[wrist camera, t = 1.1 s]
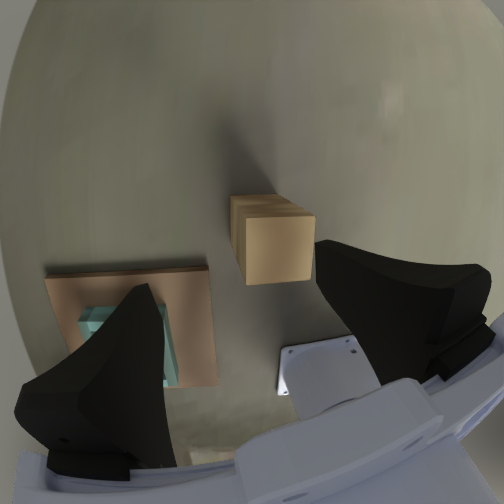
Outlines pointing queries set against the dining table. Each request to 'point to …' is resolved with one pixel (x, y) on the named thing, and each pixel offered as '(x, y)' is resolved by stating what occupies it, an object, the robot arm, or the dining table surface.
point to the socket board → (170, 307)
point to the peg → (271, 238)
